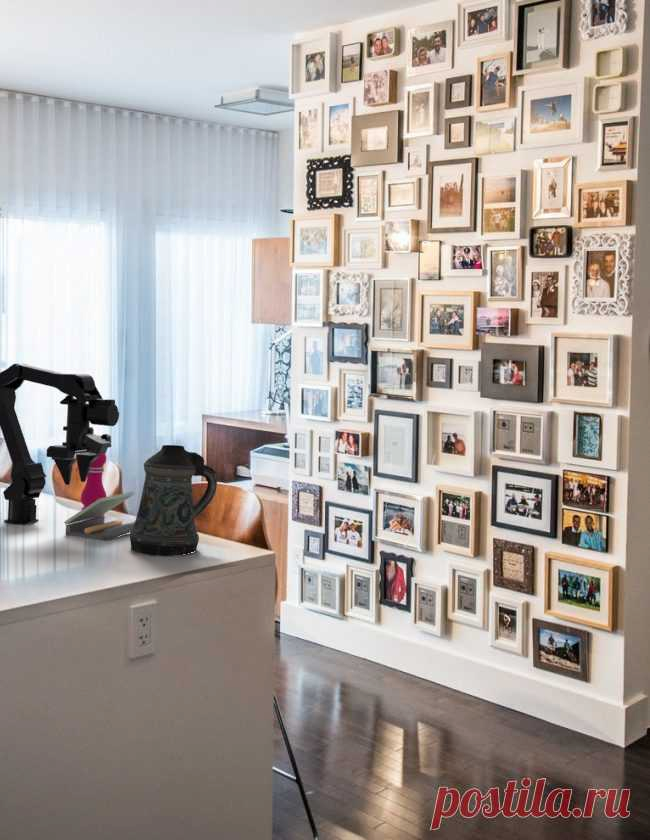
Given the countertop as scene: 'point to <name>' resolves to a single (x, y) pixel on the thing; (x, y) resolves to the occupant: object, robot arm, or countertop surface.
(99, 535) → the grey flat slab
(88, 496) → the pepper mill
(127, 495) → the cover
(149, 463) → the beer stein
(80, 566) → the countertop surface
